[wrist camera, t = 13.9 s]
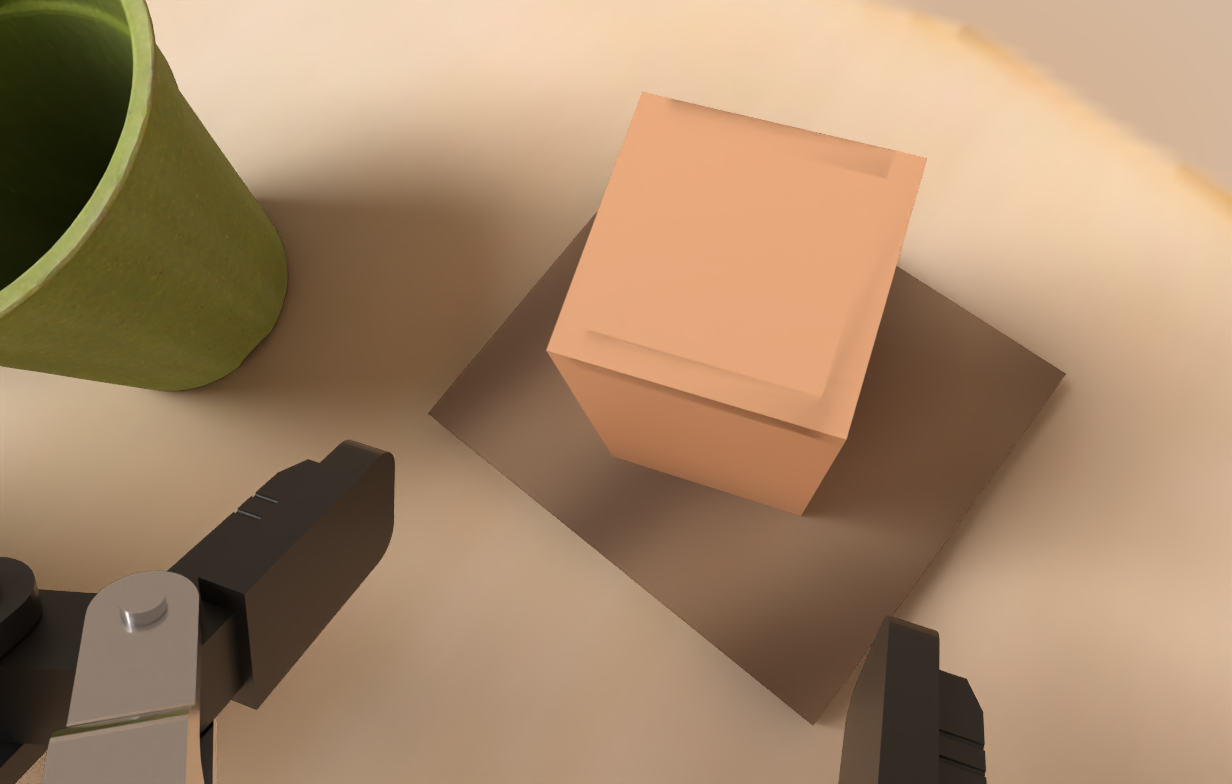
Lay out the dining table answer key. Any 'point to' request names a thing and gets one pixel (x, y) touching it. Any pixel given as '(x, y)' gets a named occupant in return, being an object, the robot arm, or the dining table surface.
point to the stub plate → (753, 532)
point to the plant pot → (120, 210)
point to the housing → (733, 297)
